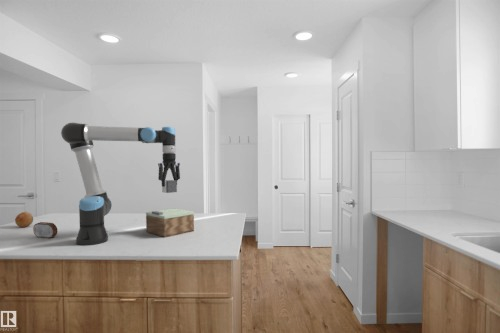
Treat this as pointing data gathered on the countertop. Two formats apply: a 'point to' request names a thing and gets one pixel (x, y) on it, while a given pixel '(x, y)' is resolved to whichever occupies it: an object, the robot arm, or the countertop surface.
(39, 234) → the tin
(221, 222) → the countertop surface
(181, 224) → the storage box
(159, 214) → the lid
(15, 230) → the countertop surface
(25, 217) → the onion
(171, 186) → the block
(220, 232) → the countertop surface
